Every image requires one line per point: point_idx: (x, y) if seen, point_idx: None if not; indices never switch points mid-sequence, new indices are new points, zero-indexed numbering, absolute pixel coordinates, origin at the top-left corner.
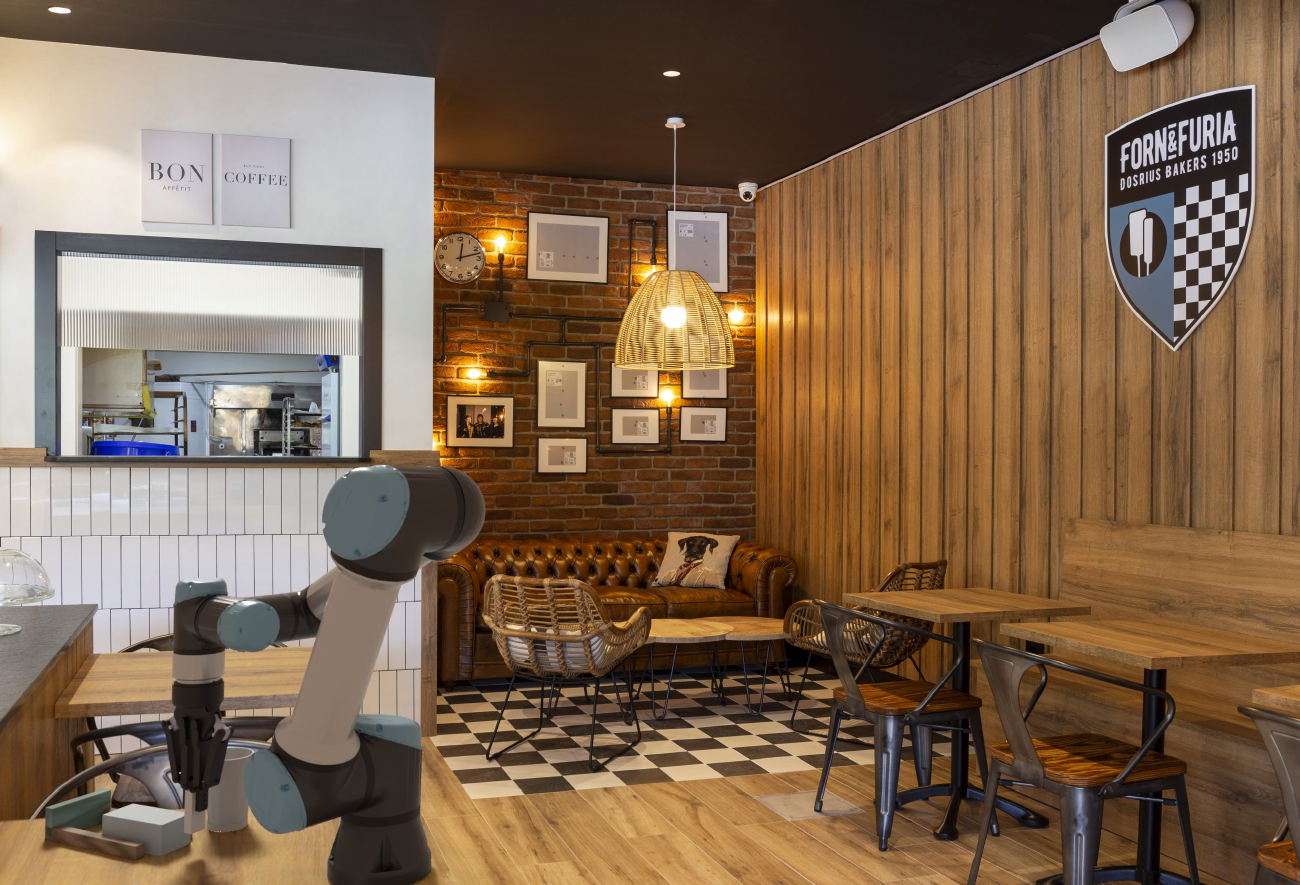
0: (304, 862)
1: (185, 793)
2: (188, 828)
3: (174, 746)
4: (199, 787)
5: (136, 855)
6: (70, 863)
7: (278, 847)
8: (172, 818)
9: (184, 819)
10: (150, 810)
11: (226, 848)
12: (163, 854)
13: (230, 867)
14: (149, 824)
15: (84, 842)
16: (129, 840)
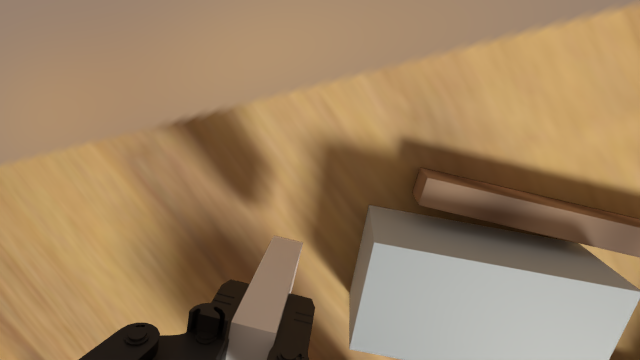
0: (18, 238)
1: (275, 322)
2: (282, 245)
3: None
4: (185, 338)
5: (421, 172)
6: (596, 104)
7: (134, 306)
8: (378, 302)
9: (296, 264)
10: (494, 352)
11: (243, 280)
12: (367, 213)
13: (153, 175)
14: (426, 250)
15: (629, 220)
16: (476, 217)
